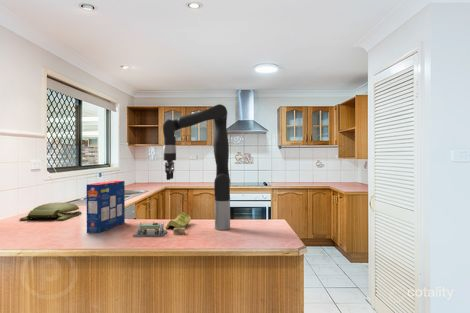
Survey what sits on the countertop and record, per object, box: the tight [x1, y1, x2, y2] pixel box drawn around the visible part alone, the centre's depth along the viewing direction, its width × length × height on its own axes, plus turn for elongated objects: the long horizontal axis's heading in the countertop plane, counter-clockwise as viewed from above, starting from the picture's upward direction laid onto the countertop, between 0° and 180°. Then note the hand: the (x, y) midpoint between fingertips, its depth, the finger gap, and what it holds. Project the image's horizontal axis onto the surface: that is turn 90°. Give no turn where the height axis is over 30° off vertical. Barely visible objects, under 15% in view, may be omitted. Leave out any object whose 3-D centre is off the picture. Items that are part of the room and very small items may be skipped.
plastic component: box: [165, 211, 192, 230], centre depth 205 cm, size 20×7×10 cm
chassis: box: [132, 222, 168, 238], centre depth 184 cm, size 16×12×6 cm
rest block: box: [172, 227, 186, 236], centre depth 185 cm, size 6×4×3 cm, turn 89°
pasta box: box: [86, 180, 126, 234], centre depth 202 cm, size 28×8×28 cm, turn 169°
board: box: [140, 222, 162, 230], centre depth 184 cm, size 10×6×3 cm, turn 89°
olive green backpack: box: [19, 202, 82, 222], centre depth 239 cm, size 35×31×10 cm
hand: (169, 179), depth 198 cm, fingers open, 8 cm apart
